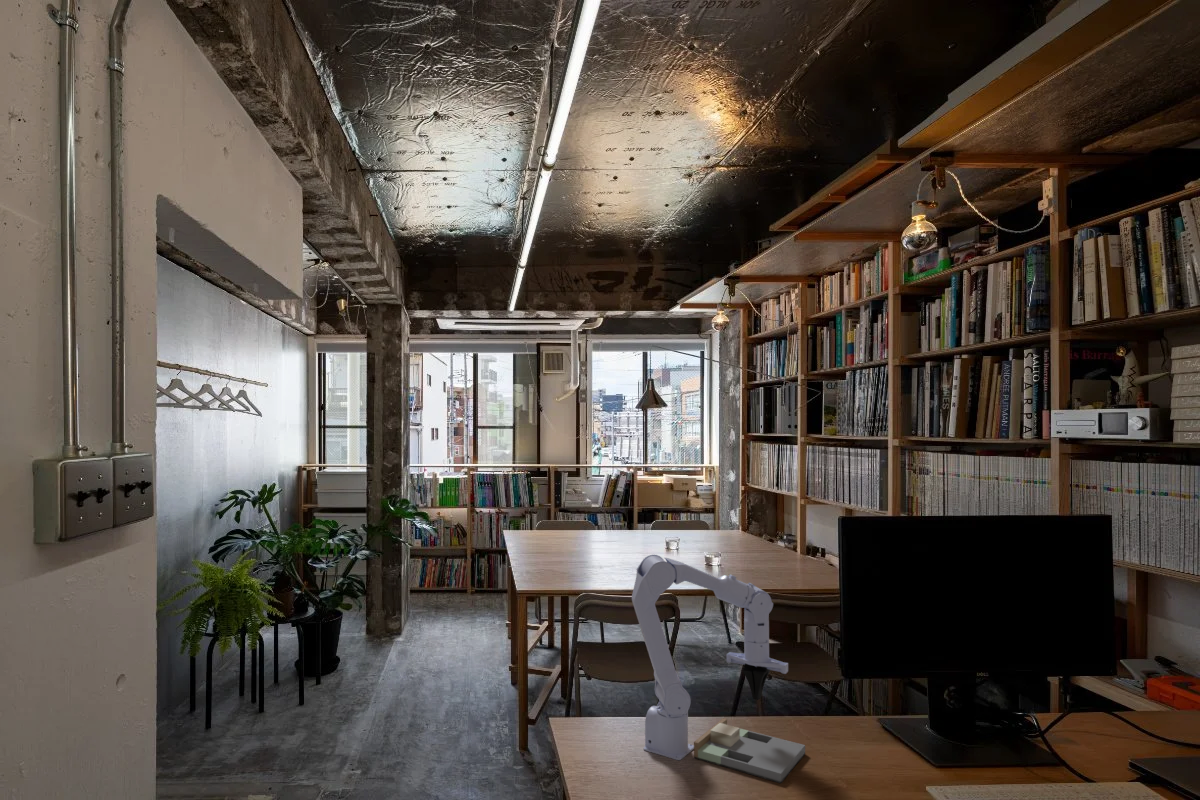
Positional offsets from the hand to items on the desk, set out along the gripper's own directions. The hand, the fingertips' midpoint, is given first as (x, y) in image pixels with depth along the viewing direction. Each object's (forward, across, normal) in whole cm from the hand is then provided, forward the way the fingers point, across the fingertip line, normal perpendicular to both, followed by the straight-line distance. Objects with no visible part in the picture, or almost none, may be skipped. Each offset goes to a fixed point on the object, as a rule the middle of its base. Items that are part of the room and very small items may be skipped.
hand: (756, 698), depth 164 cm
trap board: (+10, -1, +7) cm, 13 cm away
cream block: (+8, +5, +7) cm, 12 cm away
